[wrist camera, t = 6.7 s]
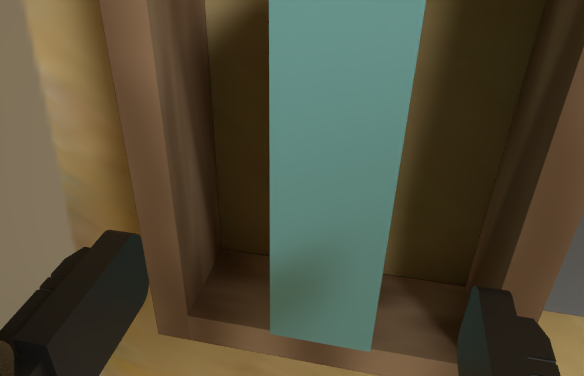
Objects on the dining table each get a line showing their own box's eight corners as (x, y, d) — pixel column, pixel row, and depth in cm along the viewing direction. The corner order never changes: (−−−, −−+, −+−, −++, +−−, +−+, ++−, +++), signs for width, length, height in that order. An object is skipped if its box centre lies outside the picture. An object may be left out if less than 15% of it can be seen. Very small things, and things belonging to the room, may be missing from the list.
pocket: (662, -193, 16) (760, -219, 11) (491, 315, 28) (506, 399, 24) (145, -195, 19) (60, -216, 14) (195, 267, 31) (158, 333, 26)
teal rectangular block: (425, -39, 17) (428, -12, 13) (377, 273, 24) (370, 352, 20) (302, -46, 17) (269, -22, 13) (293, 260, 25) (270, 333, 21)
